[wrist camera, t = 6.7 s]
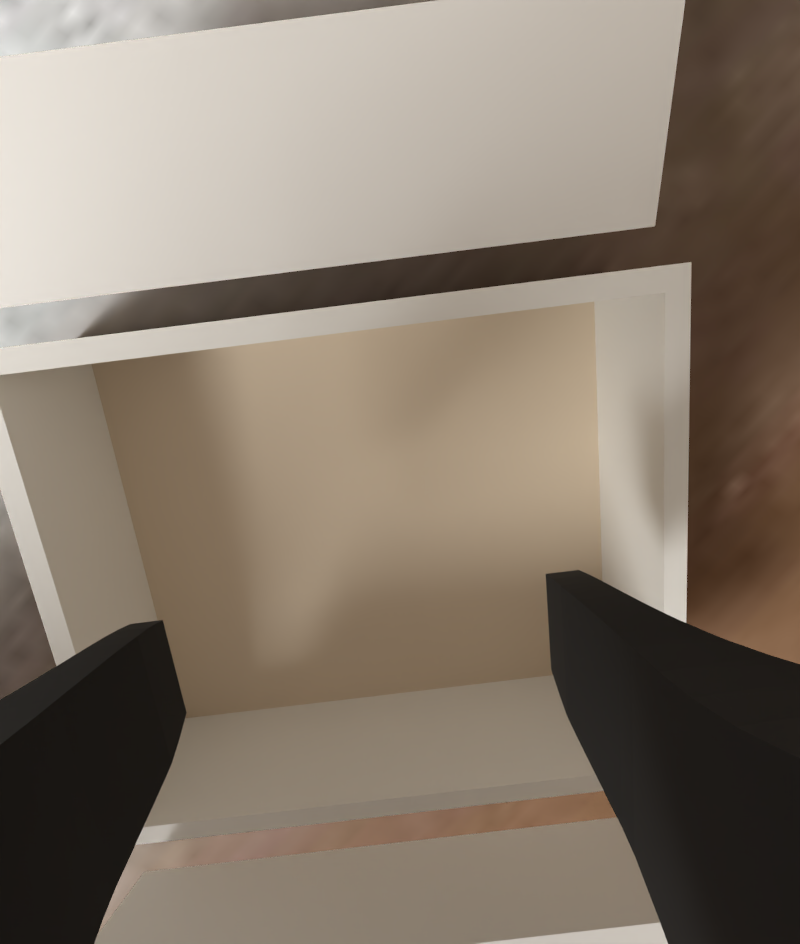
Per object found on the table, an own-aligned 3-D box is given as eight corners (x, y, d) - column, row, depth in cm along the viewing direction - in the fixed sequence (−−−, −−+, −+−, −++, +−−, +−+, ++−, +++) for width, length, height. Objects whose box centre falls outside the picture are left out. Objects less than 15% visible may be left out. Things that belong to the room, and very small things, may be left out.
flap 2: (144, 872, 14) (148, 917, 14) (55, 990, 11) (60, 1052, 11) (658, 812, 14) (664, 858, 14) (741, 913, 11) (751, 974, 11)
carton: (176, 723, 19) (114, 847, 15) (75, 339, 16) (-44, 353, 11) (615, 671, 19) (684, 781, 14) (606, 273, 16) (691, 262, 11)
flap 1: (-146, 76, 9) (-102, 73, 10) (-23, 310, 11) (5, 292, 12) (689, -33, 9) (659, -25, 10) (655, 226, 11) (633, 213, 12)
